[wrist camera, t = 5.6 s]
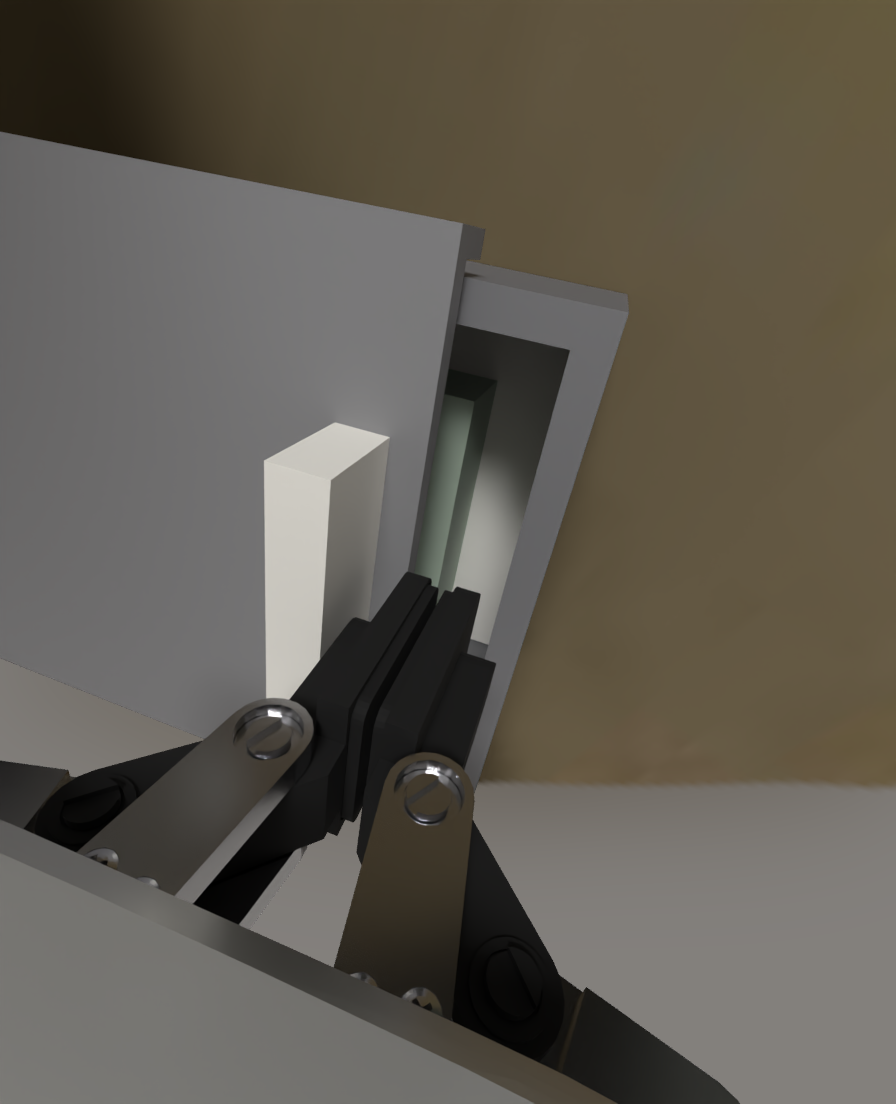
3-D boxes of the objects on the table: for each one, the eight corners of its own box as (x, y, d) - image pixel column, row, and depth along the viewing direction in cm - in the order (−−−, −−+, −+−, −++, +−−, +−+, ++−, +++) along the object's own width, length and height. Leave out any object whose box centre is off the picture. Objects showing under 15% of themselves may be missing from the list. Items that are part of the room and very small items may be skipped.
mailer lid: (-243, 84, 13) (-566, 17, 9) (485, 229, 10) (408, 209, 6) (-45, 599, 21) (-178, 665, 17) (390, 764, 18) (333, 884, 14)
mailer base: (98, 183, 18) (-161, 142, 12) (627, 294, 15) (628, 312, 9) (148, 536, 25) (1, 619, 19) (513, 657, 22) (472, 799, 16)
